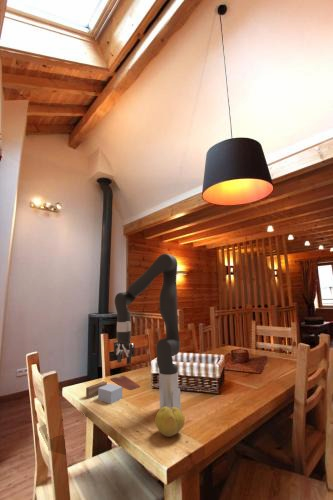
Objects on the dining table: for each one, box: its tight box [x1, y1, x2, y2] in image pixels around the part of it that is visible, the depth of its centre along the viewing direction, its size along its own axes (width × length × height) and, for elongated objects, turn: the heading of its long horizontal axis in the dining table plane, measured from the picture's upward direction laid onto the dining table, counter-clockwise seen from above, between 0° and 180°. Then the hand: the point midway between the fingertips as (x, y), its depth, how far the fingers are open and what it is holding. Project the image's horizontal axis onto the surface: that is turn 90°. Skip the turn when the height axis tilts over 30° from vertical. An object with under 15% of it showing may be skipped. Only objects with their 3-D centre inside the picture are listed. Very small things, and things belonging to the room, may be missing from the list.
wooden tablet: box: [110, 375, 141, 391], centre depth 162 cm, size 27×10×2 cm, turn 35°
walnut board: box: [85, 381, 108, 400], centre depth 145 cm, size 3×12×5 cm, turn 143°
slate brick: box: [97, 383, 123, 405], centre depth 138 cm, size 10×8×6 cm
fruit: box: [154, 406, 185, 438], centre depth 103 cm, size 11×12×10 cm
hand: (123, 363), depth 135 cm, fingers open, 6 cm apart
